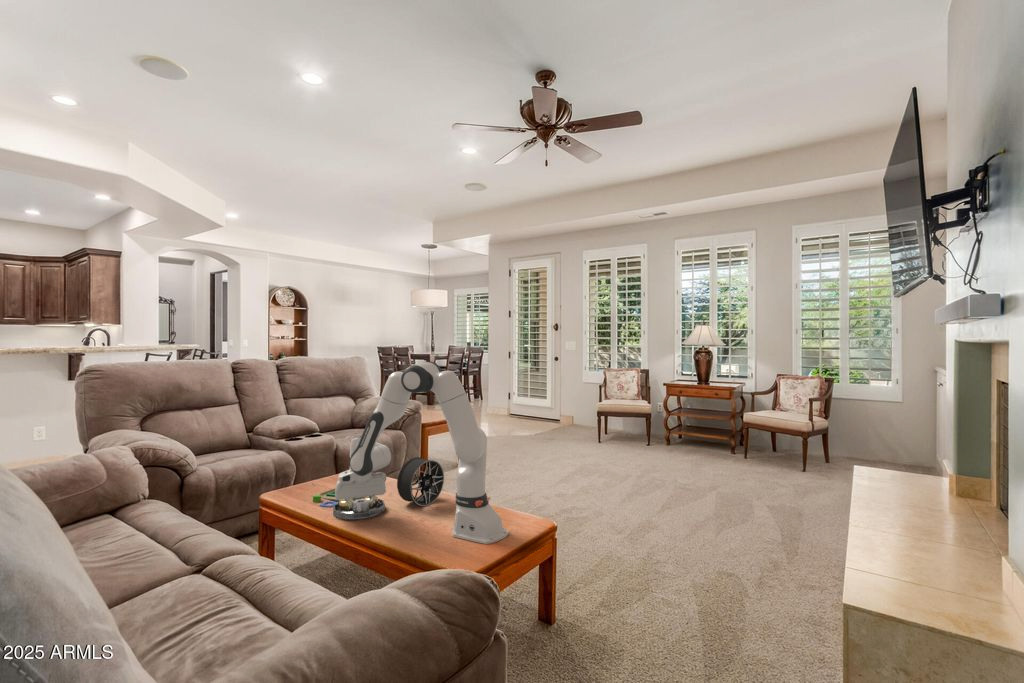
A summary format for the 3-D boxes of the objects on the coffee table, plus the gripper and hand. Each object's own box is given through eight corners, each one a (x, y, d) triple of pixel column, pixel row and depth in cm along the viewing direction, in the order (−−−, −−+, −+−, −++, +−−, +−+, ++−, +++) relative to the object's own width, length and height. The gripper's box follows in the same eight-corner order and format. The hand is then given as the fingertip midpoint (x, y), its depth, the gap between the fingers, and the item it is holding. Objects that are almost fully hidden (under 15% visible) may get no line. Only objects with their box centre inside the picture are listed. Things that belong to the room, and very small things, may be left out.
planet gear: (372, 510, 205) (372, 501, 205) (358, 514, 200) (358, 505, 200) (362, 507, 209) (362, 497, 209) (349, 511, 204) (349, 501, 204)
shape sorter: (359, 484, 251) (359, 475, 251) (387, 490, 242) (387, 480, 242) (302, 503, 221) (303, 493, 221) (332, 510, 212) (332, 500, 212)
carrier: (394, 510, 212) (394, 497, 212) (352, 524, 195) (352, 510, 195) (365, 499, 225) (365, 487, 225) (323, 512, 208) (323, 499, 208)
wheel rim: (410, 511, 211) (411, 465, 211) (396, 506, 216) (397, 461, 216) (443, 499, 227) (444, 456, 227) (430, 495, 232) (430, 453, 232)
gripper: (385, 469, 211) (385, 501, 212) (334, 474, 204) (334, 507, 204) (387, 473, 206) (387, 506, 206) (335, 478, 198) (335, 512, 198)
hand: (360, 507), depth 205 cm, fingers closed on planet gear, 7 cm apart
